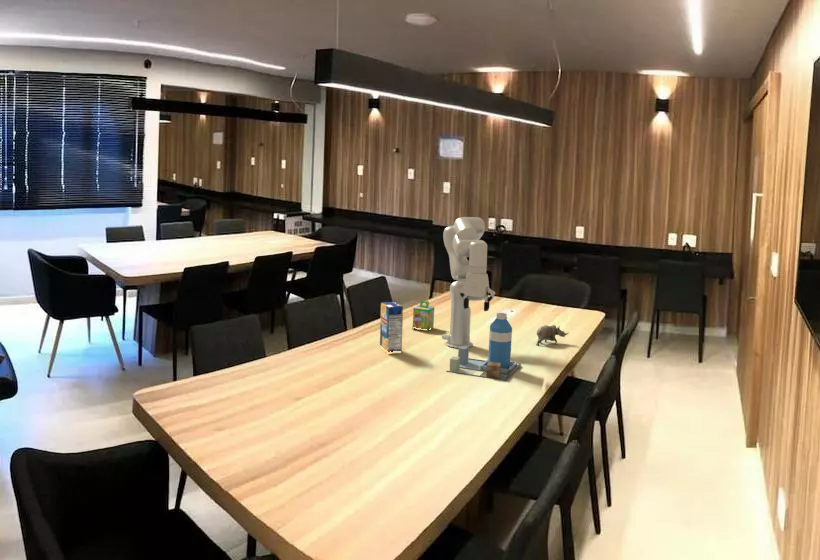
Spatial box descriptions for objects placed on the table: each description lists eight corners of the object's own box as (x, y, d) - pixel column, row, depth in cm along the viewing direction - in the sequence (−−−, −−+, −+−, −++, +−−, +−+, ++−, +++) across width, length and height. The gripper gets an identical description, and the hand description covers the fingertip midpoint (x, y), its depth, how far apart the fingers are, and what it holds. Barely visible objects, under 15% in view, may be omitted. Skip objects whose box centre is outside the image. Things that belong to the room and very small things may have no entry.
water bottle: (495, 375, 282) (498, 317, 277) (483, 369, 290) (486, 312, 286) (514, 373, 286) (517, 315, 282) (501, 367, 294) (504, 310, 290)
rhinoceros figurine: (525, 337, 336) (543, 313, 336) (543, 351, 342) (561, 327, 342) (533, 342, 329) (551, 318, 329) (551, 356, 335) (569, 332, 335)
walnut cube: (486, 376, 276) (487, 364, 275) (487, 373, 280) (488, 361, 280) (498, 378, 274) (499, 366, 274) (500, 374, 279) (500, 362, 278)
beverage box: (387, 354, 308) (388, 307, 305) (379, 348, 318) (380, 302, 315) (401, 353, 311) (403, 306, 307) (393, 347, 321) (394, 301, 317)
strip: (448, 373, 282) (448, 359, 281) (453, 369, 288) (453, 355, 287) (472, 377, 278) (472, 362, 277) (476, 373, 283) (477, 359, 282)
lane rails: (445, 374, 281) (446, 369, 281) (463, 360, 302) (464, 355, 302) (506, 384, 271) (506, 378, 271) (520, 369, 292) (521, 363, 291)
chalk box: (412, 329, 355) (413, 302, 353) (417, 326, 364) (418, 299, 362) (428, 331, 353) (429, 303, 350) (434, 327, 361) (435, 300, 359)
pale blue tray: (454, 368, 289) (455, 350, 288) (464, 361, 300) (464, 343, 299) (509, 376, 280) (510, 358, 278) (517, 368, 291) (518, 350, 290)
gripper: (455, 269, 293) (454, 308, 296) (491, 272, 284) (490, 313, 286) (464, 268, 300) (462, 306, 302) (499, 271, 290) (497, 310, 293)
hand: (476, 309), depth 294 cm, fingers open, 9 cm apart
